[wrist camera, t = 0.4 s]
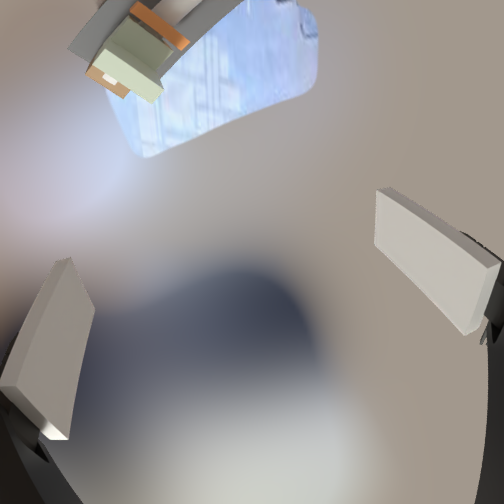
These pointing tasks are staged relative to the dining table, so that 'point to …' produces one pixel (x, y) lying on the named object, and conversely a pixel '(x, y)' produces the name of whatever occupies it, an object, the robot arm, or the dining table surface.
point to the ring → (159, 25)
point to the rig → (166, 7)
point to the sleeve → (134, 58)
